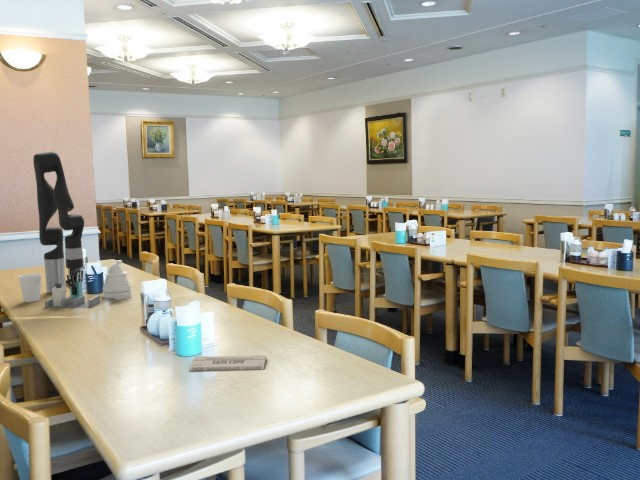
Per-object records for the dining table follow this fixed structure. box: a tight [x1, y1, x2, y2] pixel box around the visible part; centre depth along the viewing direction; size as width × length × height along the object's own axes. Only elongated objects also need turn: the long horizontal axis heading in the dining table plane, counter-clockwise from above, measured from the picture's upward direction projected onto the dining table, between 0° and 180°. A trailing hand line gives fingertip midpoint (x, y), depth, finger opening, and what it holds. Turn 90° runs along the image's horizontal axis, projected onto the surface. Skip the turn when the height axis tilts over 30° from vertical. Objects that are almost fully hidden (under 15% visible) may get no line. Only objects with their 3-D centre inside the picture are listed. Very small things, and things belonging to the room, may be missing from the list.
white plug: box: [51, 283, 67, 306], centre depth 257 cm, size 4×4×10 cm
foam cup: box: [18, 273, 42, 303], centre depth 269 cm, size 10×9×13 cm
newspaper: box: [188, 355, 267, 373], centre depth 174 cm, size 23×12×2 cm, turn 91°
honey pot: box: [102, 259, 132, 301], centre depth 277 cm, size 13×13×18 cm
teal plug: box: [69, 280, 84, 299], centre depth 269 cm, size 4×4×10 cm
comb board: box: [42, 295, 102, 309], centre depth 258 cm, size 12×22×4 cm, turn 91°
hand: (76, 293), depth 269 cm, fingers closed on teal plug, 4 cm apart
